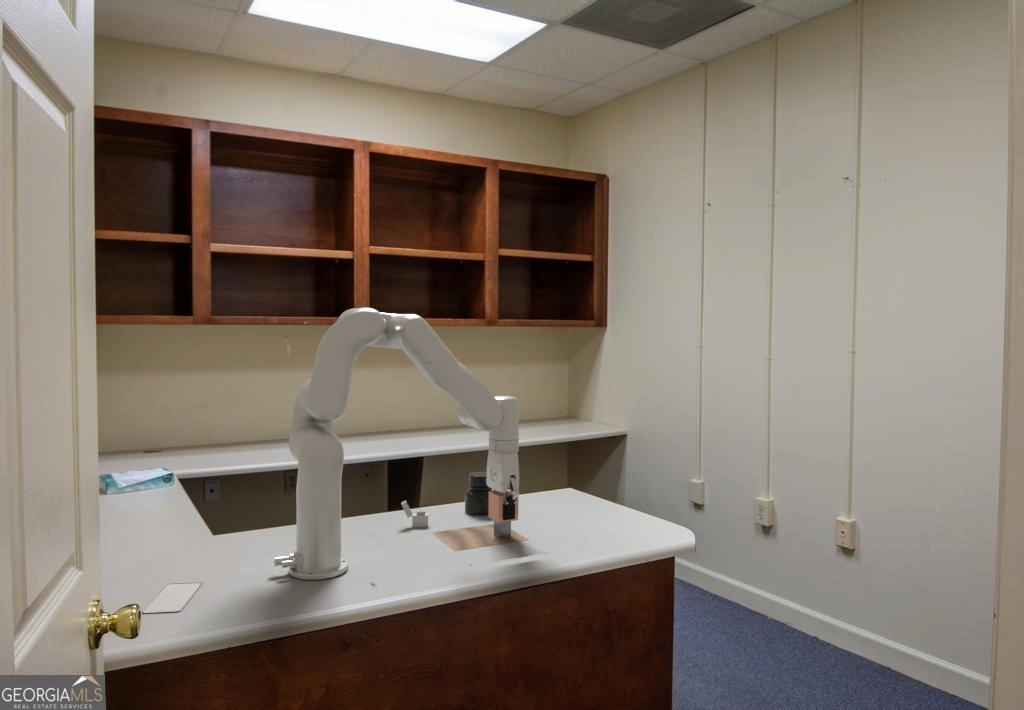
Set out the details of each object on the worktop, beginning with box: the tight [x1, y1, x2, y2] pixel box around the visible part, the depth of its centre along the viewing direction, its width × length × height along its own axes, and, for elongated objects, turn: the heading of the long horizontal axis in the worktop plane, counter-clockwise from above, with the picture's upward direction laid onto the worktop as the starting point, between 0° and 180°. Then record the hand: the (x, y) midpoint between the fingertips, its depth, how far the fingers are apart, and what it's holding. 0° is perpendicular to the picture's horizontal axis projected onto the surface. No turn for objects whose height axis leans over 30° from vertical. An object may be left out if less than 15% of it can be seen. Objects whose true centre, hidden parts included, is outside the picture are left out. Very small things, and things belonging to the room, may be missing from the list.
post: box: [493, 520, 512, 539], centre depth 176 cm, size 3×3×5 cm
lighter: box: [400, 500, 429, 528], centre depth 184 cm, size 7×2×8 cm, turn 98°
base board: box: [430, 523, 529, 552], centre depth 176 cm, size 20×16×1 cm
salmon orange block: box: [487, 489, 519, 523], centre depth 176 cm, size 6×6×7 cm
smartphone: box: [141, 581, 204, 615], centre depth 138 cm, size 7×1×15 cm
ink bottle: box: [464, 471, 491, 517], centre depth 199 cm, size 10×9×12 cm
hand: (503, 515), depth 176 cm, fingers closed on salmon orange block, 5 cm apart
